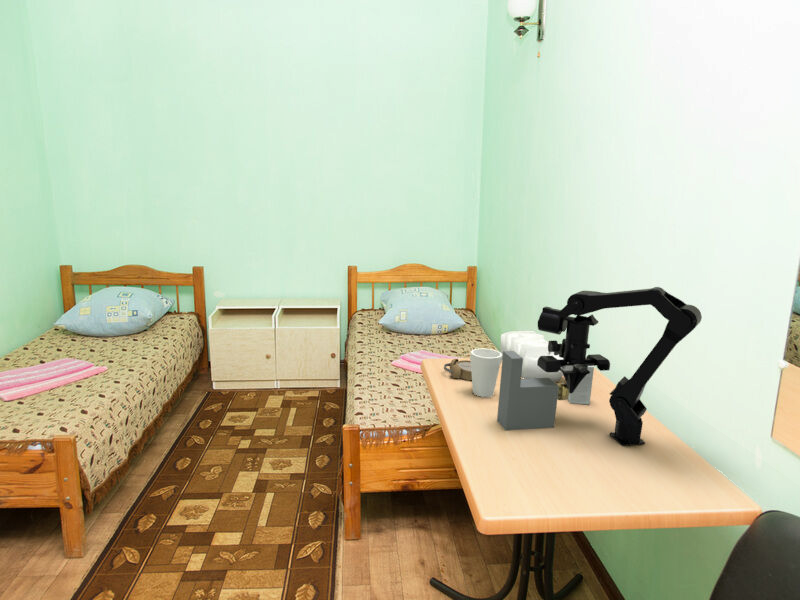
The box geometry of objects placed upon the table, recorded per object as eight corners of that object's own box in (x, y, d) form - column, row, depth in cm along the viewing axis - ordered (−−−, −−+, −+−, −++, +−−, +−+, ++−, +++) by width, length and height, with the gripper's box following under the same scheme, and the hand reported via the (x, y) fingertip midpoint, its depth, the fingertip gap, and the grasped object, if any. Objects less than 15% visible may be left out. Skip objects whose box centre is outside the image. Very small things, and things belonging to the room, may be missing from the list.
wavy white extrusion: (493, 352, 215) (495, 325, 213) (535, 351, 218) (537, 325, 215) (526, 386, 181) (529, 355, 179) (575, 386, 184) (578, 355, 181)
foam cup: (496, 401, 169) (500, 360, 166) (465, 397, 171) (468, 356, 168) (499, 390, 178) (503, 350, 175) (470, 386, 180) (473, 346, 177)
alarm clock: (492, 374, 183) (446, 364, 183) (488, 388, 184) (443, 378, 184) (487, 362, 194) (445, 353, 194) (484, 376, 195) (441, 366, 195)
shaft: (567, 402, 153) (569, 386, 152) (523, 404, 150) (525, 388, 149) (559, 396, 157) (561, 380, 156) (516, 398, 154) (518, 382, 153)
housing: (554, 427, 153) (562, 357, 148) (505, 430, 150) (512, 358, 145) (544, 418, 158) (551, 349, 154) (496, 420, 155) (503, 351, 151)
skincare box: (586, 399, 173) (591, 362, 170) (589, 405, 169) (594, 367, 166) (566, 397, 174) (570, 360, 171) (569, 403, 170) (573, 365, 167)
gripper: (592, 329, 161) (586, 380, 164) (531, 330, 157) (526, 383, 161) (614, 340, 150) (607, 395, 154) (549, 342, 146) (543, 398, 150)
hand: (570, 392), depth 155 cm, fingers closed
